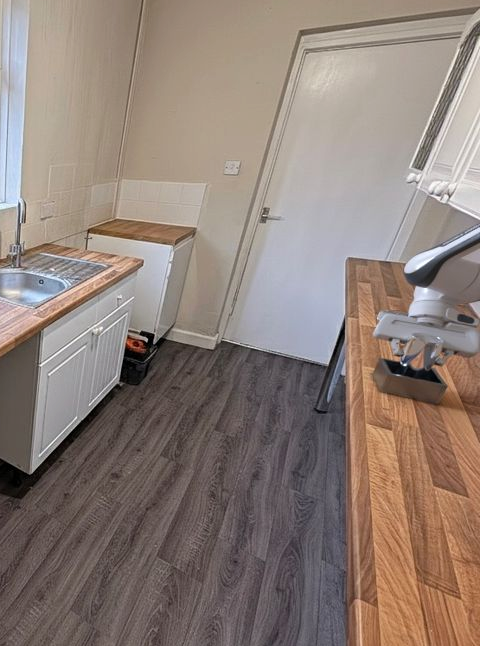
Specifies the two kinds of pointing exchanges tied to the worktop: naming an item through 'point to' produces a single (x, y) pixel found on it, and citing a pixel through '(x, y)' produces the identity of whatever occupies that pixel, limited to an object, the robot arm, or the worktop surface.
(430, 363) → the metal tumbler
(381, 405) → the worktop surface
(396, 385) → the dark gray square tray
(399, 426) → the worktop surface
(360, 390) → the worktop surface
